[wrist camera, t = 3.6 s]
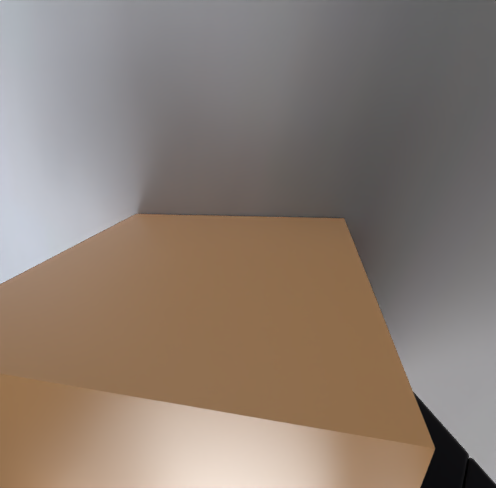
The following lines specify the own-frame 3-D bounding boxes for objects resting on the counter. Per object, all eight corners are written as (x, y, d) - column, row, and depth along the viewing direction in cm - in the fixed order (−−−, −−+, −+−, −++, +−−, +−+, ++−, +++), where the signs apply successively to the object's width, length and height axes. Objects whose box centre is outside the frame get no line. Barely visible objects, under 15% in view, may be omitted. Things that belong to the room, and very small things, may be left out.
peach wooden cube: (344, 218, 7) (436, 450, 2) (326, 383, 9) (348, 672, 4) (136, 213, 8) (-129, 350, 3) (167, 360, 10) (44, 569, 6)
